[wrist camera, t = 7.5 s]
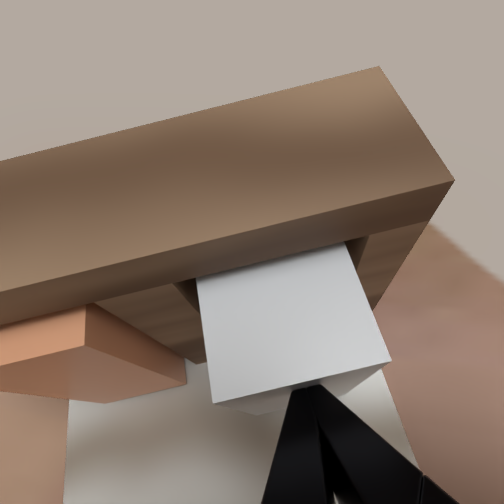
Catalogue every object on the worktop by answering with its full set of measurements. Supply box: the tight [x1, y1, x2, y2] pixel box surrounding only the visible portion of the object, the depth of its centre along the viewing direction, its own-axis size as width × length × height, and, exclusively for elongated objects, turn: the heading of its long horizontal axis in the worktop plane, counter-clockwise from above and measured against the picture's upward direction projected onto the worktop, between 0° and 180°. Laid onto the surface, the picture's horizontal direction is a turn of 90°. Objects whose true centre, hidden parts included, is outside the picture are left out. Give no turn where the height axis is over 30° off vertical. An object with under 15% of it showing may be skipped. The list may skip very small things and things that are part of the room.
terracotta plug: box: [0, 302, 186, 404], centre depth 13 cm, size 6×4×8 cm, turn 12°
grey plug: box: [196, 241, 392, 415], centre depth 12 cm, size 6×4×8 cm, turn 12°
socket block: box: [0, 66, 455, 504], centre depth 10 cm, size 15×15×11 cm
